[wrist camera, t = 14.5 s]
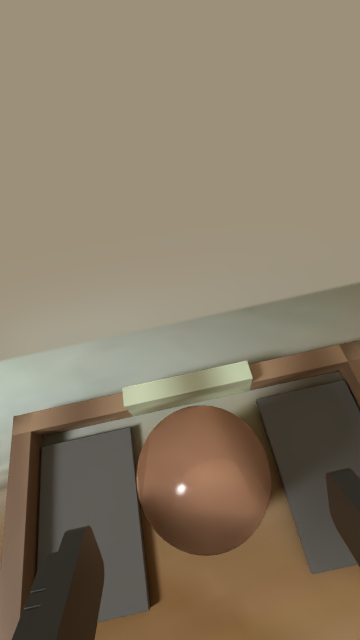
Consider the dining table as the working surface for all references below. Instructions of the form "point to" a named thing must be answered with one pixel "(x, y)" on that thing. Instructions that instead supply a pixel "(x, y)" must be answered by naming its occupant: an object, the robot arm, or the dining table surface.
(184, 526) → the terracotta jar
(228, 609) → the dining table surface
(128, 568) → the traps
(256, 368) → the box
